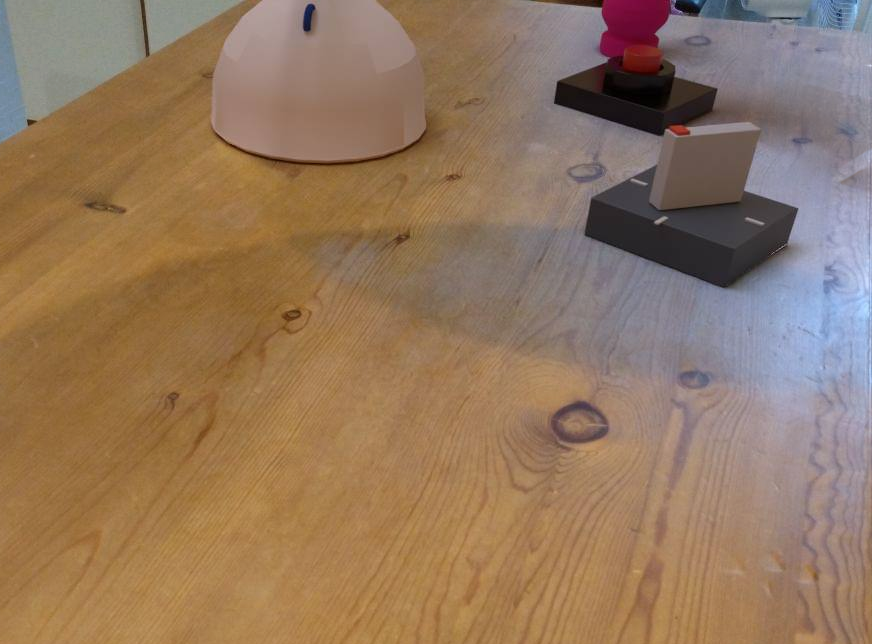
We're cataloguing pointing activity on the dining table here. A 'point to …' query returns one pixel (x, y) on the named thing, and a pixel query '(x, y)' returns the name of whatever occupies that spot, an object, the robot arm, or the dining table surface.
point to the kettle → (319, 82)
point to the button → (642, 58)
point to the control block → (636, 96)
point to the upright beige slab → (703, 165)
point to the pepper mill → (632, 24)
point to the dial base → (691, 229)
